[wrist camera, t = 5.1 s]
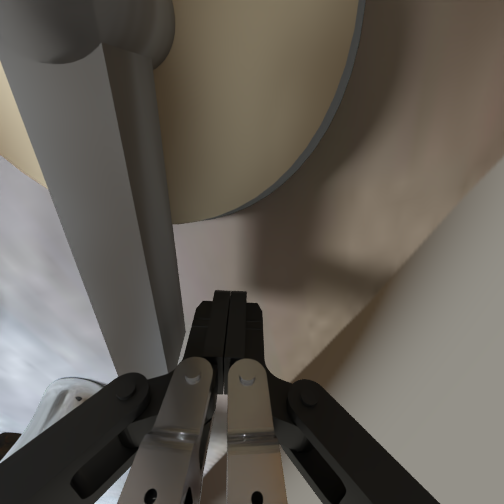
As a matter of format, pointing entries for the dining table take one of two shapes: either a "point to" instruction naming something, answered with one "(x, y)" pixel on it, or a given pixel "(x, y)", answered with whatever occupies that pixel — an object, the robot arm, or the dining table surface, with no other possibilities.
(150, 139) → the capstan dial
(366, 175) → the dining table surface
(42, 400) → the beer glass
